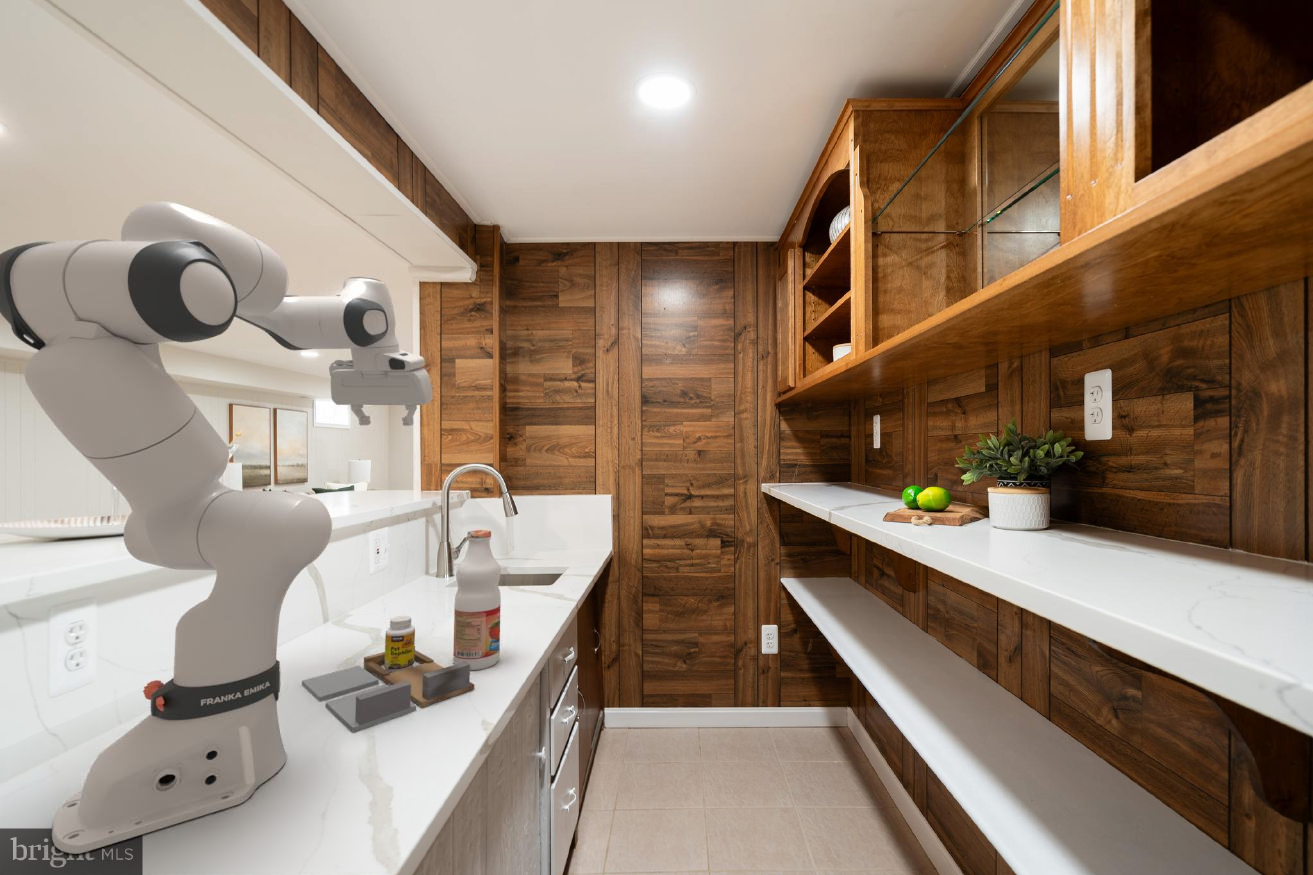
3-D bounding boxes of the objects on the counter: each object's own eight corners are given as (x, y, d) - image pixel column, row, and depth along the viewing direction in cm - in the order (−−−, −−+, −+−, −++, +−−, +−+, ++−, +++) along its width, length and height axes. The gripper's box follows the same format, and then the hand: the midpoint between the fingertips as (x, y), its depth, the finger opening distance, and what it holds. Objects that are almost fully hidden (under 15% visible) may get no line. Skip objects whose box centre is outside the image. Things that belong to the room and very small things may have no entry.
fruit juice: (451, 658, 114) (454, 529, 116) (495, 651, 118) (498, 527, 120) (455, 674, 106) (458, 535, 107) (503, 666, 110) (505, 532, 111)
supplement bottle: (386, 675, 105) (387, 624, 106) (382, 666, 110) (384, 616, 110) (416, 669, 108) (417, 619, 109) (411, 660, 113) (413, 612, 113)
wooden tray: (421, 707, 92) (422, 679, 92) (363, 667, 109) (364, 643, 109) (474, 688, 99) (474, 662, 99) (412, 653, 116) (412, 631, 117)
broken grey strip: (353, 732, 83) (353, 701, 83) (301, 684, 101) (302, 659, 101) (416, 710, 91) (416, 682, 91) (358, 669, 108) (359, 645, 108)
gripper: (317, 362, 105) (329, 428, 109) (417, 362, 104) (426, 429, 108) (337, 358, 111) (348, 421, 115) (431, 358, 110) (439, 421, 114)
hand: (386, 425), depth 112 cm, fingers open, 8 cm apart
